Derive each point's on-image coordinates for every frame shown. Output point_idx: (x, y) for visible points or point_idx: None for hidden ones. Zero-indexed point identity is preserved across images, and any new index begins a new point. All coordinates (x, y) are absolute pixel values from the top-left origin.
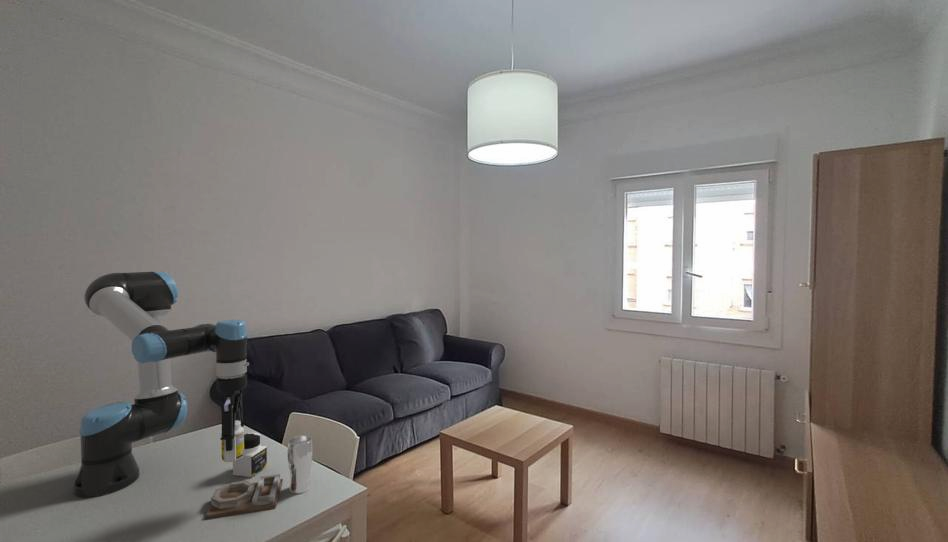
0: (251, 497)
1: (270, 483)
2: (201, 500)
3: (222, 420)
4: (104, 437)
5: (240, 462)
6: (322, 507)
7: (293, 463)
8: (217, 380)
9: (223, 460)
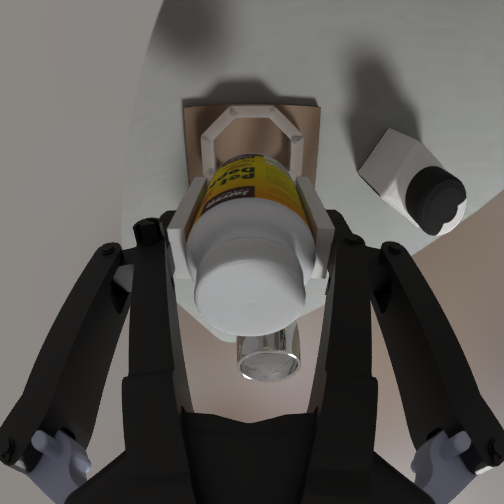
0: None
1: None
2: (281, 70)
3: (47, 344)
4: None
5: (392, 157)
6: (187, 307)
7: None
8: None
9: (221, 165)
